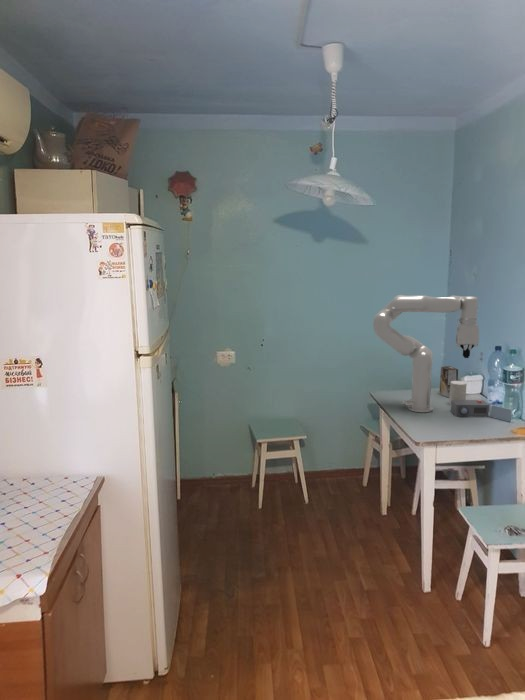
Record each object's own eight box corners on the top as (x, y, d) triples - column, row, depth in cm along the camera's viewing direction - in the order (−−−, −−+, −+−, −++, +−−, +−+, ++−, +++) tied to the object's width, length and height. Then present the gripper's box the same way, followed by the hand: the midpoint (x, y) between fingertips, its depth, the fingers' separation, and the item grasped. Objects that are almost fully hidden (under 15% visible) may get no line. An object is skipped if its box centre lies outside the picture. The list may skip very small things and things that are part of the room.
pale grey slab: (511, 421, 255) (512, 408, 254) (509, 421, 254) (510, 409, 253) (490, 416, 263) (491, 404, 262) (489, 416, 262) (489, 404, 261)
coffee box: (457, 396, 299) (458, 369, 296) (446, 397, 297) (448, 369, 294) (448, 392, 307) (450, 365, 304) (438, 393, 306) (440, 366, 303)
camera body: (456, 417, 263) (457, 404, 261) (450, 410, 273) (451, 398, 272) (489, 417, 262) (490, 404, 260) (482, 411, 272) (483, 398, 271)
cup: (450, 405, 282) (451, 384, 280) (448, 401, 290) (449, 380, 287) (466, 406, 280) (467, 384, 278) (464, 402, 288) (465, 381, 285)
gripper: (455, 322, 257) (453, 359, 261) (486, 322, 256) (483, 359, 260) (450, 320, 264) (448, 356, 268) (481, 320, 263) (478, 356, 267)
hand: (466, 357), depth 264 cm, fingers closed
